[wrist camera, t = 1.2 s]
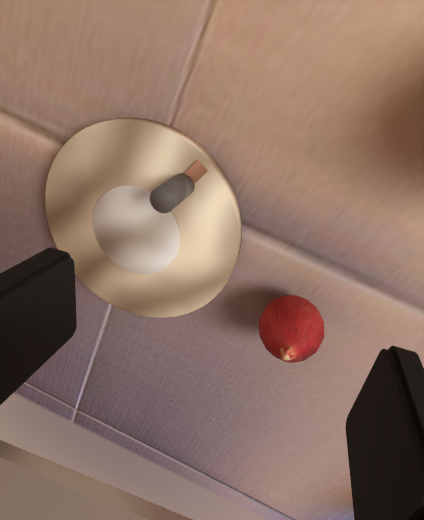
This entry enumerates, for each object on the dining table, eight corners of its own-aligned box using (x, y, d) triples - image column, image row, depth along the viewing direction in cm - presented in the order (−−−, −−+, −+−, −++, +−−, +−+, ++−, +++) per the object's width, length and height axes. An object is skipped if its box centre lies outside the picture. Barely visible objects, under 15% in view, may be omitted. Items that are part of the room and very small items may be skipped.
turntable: (25, 211, 37) (-26, 233, 31) (130, 63, 27) (83, 56, 22) (153, 336, 40) (127, 375, 35) (286, 241, 31) (280, 275, 25)
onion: (336, 307, 33) (342, 365, 26) (293, 337, 36) (288, 396, 29) (292, 269, 32) (287, 318, 25) (252, 303, 35) (238, 355, 28)
